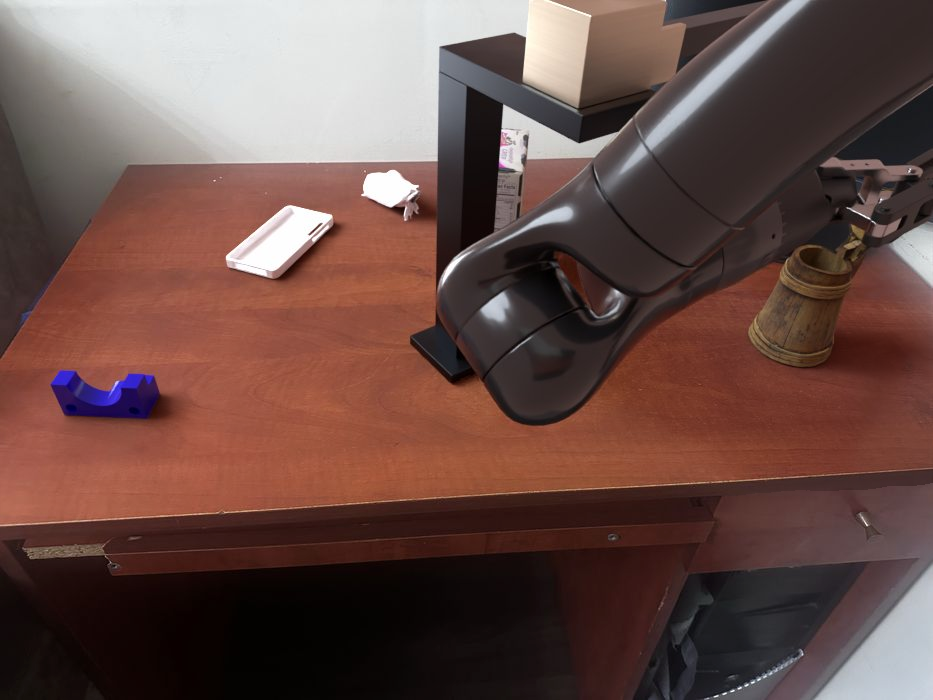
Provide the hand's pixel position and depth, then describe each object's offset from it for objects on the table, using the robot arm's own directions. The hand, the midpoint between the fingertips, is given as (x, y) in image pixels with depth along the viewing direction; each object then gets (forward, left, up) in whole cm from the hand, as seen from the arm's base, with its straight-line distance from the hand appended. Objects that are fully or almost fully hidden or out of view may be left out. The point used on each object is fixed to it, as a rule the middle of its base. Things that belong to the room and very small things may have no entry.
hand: (877, 139), depth 51 cm
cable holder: (+62, -13, -30) cm, 70 cm away
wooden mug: (-13, -13, -30) cm, 36 cm away
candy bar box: (+19, -32, -30) cm, 48 cm away
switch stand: (+22, -12, -30) cm, 39 cm away
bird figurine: (+31, -50, -30) cm, 66 cm away
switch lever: (+7, -14, +2) cm, 15 cm away
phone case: (+46, -41, -30) cm, 69 cm away
